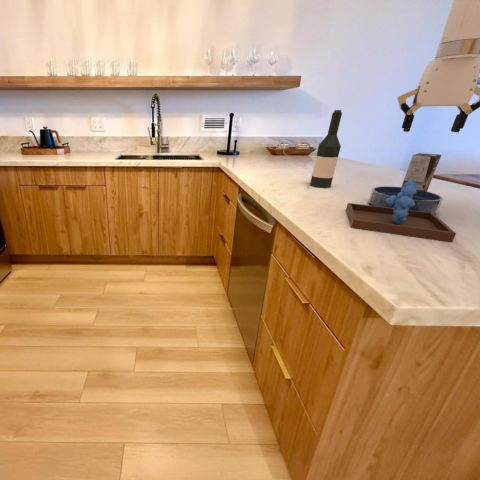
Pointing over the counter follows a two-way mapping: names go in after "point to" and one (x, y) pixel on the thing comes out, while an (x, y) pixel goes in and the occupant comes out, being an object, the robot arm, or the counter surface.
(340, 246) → the counter surface
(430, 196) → the bowl
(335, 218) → the counter surface
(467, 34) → the robot arm
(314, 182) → the wine bottle
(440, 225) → the tray
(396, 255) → the counter surface
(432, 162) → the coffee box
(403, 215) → the grapes
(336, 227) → the counter surface
